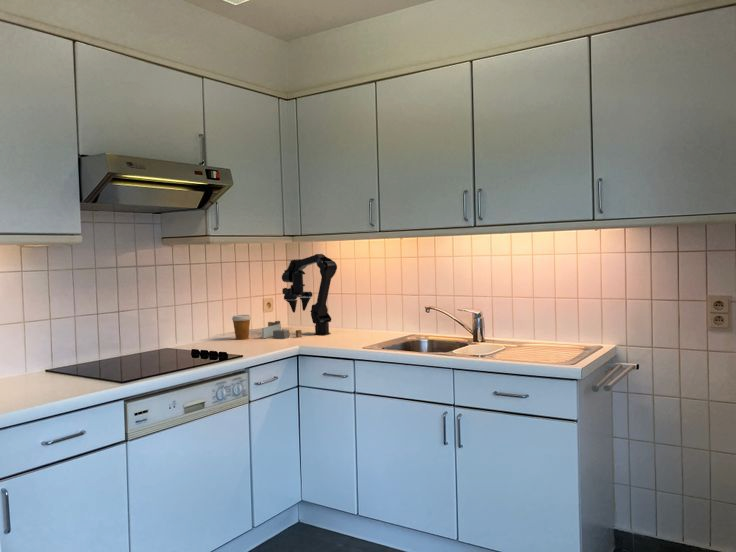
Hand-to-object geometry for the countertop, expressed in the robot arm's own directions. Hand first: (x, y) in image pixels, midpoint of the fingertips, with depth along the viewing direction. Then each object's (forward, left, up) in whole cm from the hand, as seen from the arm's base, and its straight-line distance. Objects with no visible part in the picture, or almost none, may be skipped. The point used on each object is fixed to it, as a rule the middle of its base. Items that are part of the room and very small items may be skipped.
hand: (298, 311), depth 344 cm
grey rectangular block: (-4, +21, -11) cm, 24 cm away
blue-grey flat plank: (+4, +19, -11) cm, 22 cm away
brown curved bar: (+1, +12, -11) cm, 17 cm away
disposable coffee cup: (+14, +30, -11) cm, 35 cm away
